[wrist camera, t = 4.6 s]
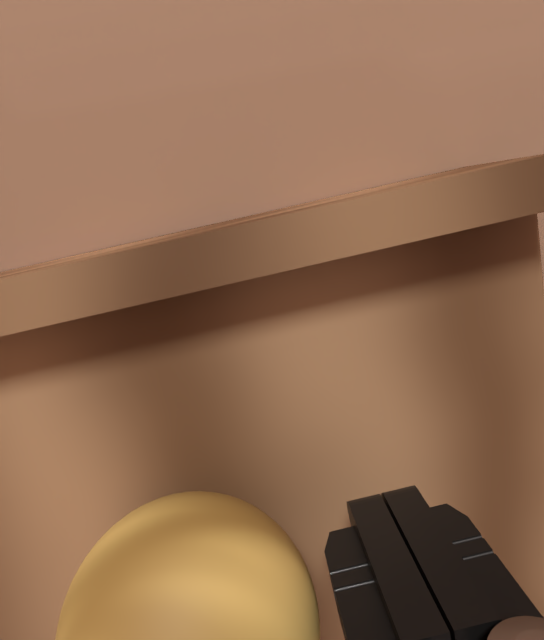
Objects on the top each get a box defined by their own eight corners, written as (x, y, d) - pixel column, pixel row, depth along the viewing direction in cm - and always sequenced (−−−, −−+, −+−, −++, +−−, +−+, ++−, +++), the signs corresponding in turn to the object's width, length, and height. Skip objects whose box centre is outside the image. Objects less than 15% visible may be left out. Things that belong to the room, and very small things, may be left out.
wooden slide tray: (466, 166, 13) (570, 150, 9) (517, 597, 16) (609, 727, 12) (-521, 391, 13) (-881, 479, 9) (-262, 787, 16) (-433, 988, 12)
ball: (284, 427, 11) (303, 595, 6) (324, 602, 12) (366, 852, 8) (76, 472, 11) (-54, 668, 7) (135, 641, 12) (60, 910, 8)
